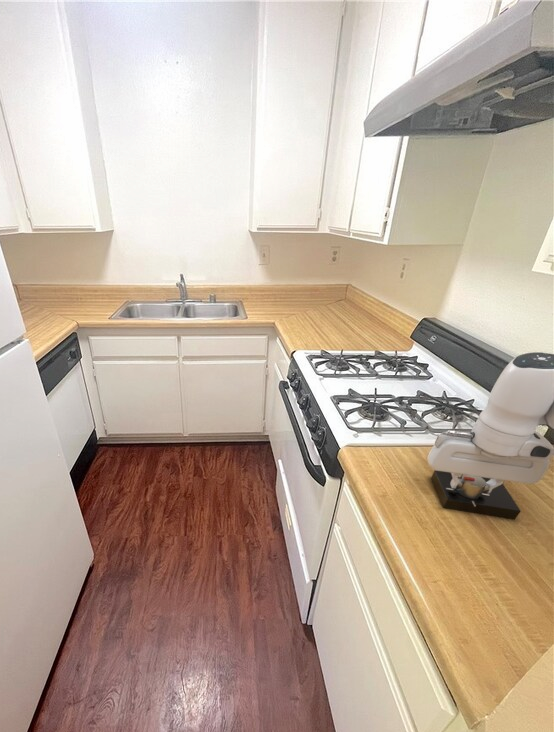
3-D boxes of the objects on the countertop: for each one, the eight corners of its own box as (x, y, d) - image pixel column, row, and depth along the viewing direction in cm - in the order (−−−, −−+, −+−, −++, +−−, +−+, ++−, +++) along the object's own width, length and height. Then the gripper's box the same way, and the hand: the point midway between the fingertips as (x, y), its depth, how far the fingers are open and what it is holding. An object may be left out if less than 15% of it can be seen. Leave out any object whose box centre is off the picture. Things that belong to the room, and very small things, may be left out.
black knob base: (494, 489, 81) (500, 479, 79) (515, 524, 72) (523, 513, 70) (430, 479, 83) (434, 469, 81) (443, 512, 74) (449, 501, 72)
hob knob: (474, 487, 76) (482, 473, 74) (482, 500, 73) (490, 487, 71) (453, 483, 77) (460, 470, 75) (459, 497, 74) (467, 483, 71)
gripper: (445, 437, 66) (421, 491, 74) (567, 453, 63) (528, 507, 70) (436, 420, 71) (414, 472, 79) (548, 434, 68) (514, 487, 75)
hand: (469, 489), depth 74 cm, fingers closed on hob knob, 4 cm apart
